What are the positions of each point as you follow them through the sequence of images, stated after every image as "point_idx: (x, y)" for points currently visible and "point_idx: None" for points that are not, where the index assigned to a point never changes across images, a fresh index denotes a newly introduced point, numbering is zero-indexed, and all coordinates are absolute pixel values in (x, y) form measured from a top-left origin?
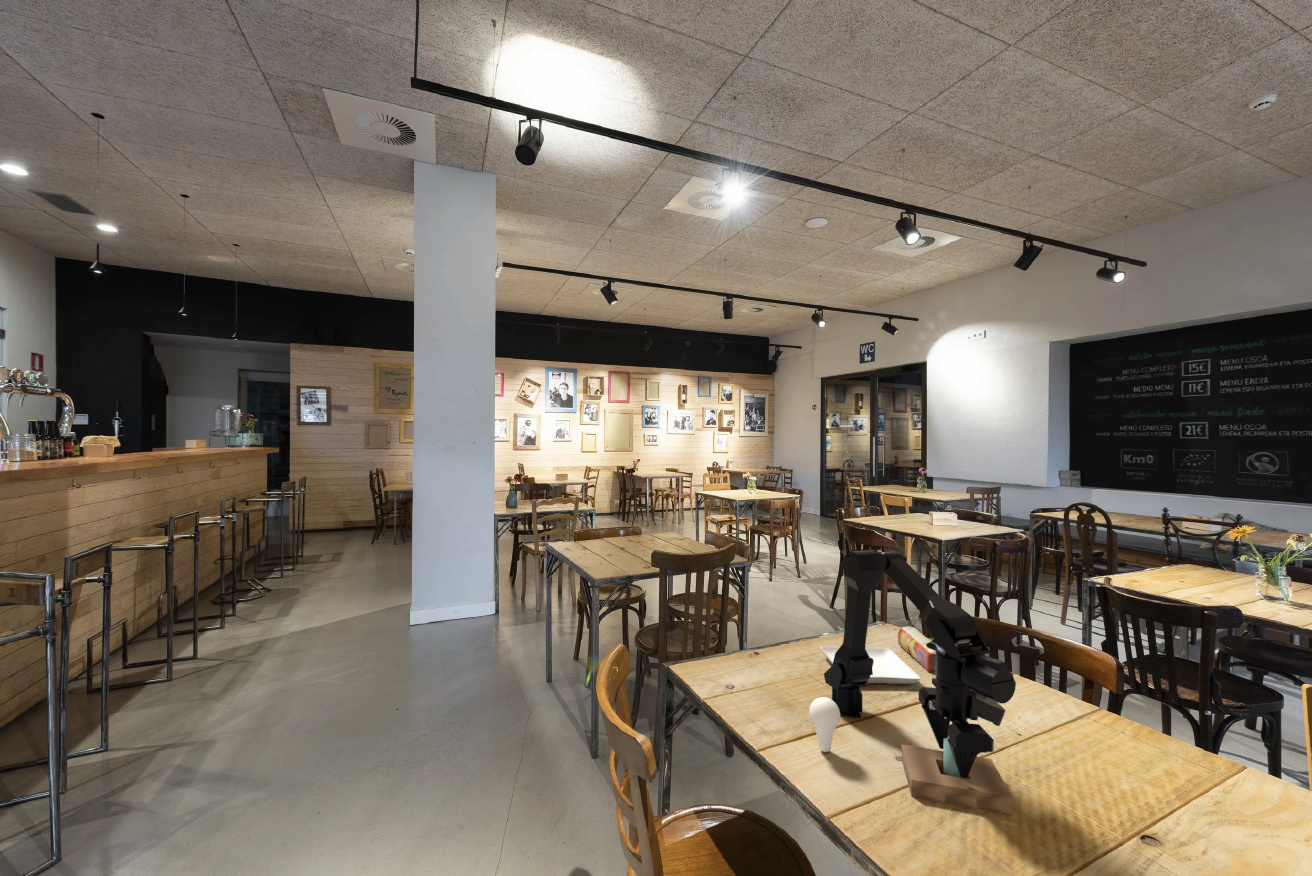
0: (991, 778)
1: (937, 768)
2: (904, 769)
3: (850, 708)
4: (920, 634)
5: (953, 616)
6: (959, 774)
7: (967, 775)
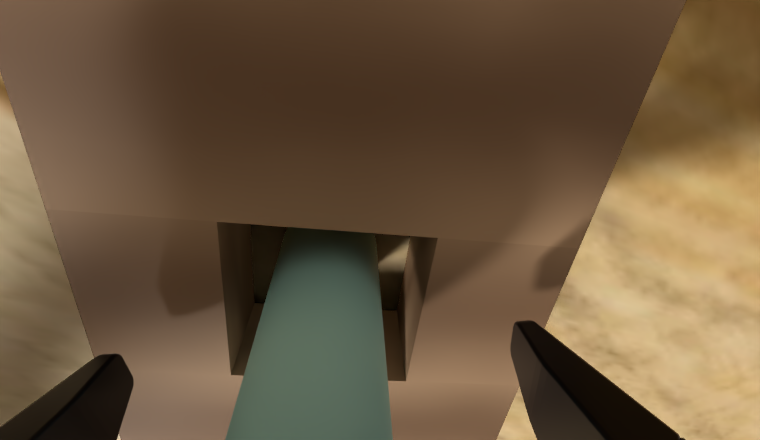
0: (399, 66)
1: None
2: None
3: None
4: None
5: None
6: (371, 281)
7: (546, 335)
